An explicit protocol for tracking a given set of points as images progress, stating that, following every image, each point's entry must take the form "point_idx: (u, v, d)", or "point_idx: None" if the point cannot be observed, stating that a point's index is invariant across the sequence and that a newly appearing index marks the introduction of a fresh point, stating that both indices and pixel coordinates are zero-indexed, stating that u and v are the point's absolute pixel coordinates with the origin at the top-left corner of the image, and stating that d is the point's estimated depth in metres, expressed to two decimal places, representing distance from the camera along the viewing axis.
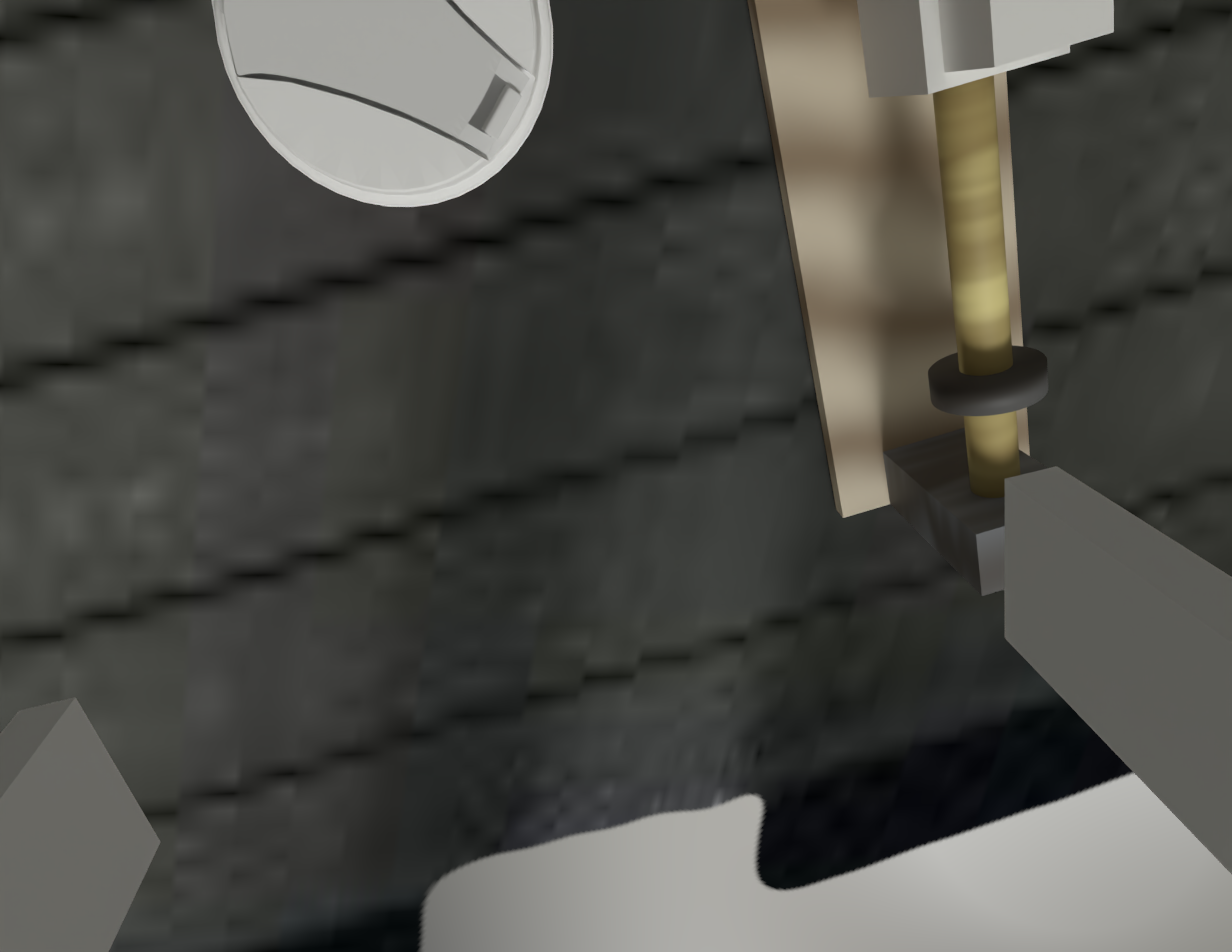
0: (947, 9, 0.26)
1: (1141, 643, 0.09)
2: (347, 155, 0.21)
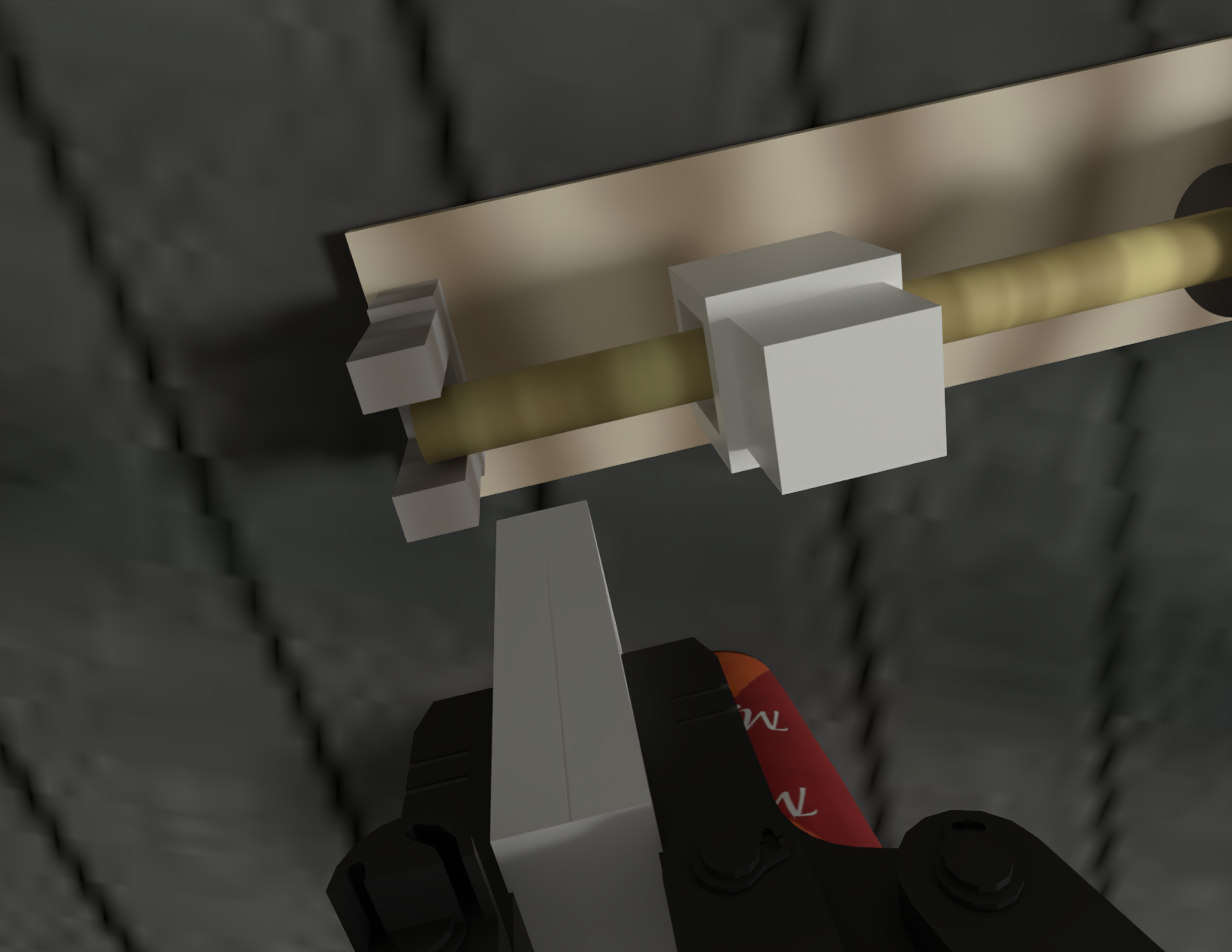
0: None
1: None
2: None
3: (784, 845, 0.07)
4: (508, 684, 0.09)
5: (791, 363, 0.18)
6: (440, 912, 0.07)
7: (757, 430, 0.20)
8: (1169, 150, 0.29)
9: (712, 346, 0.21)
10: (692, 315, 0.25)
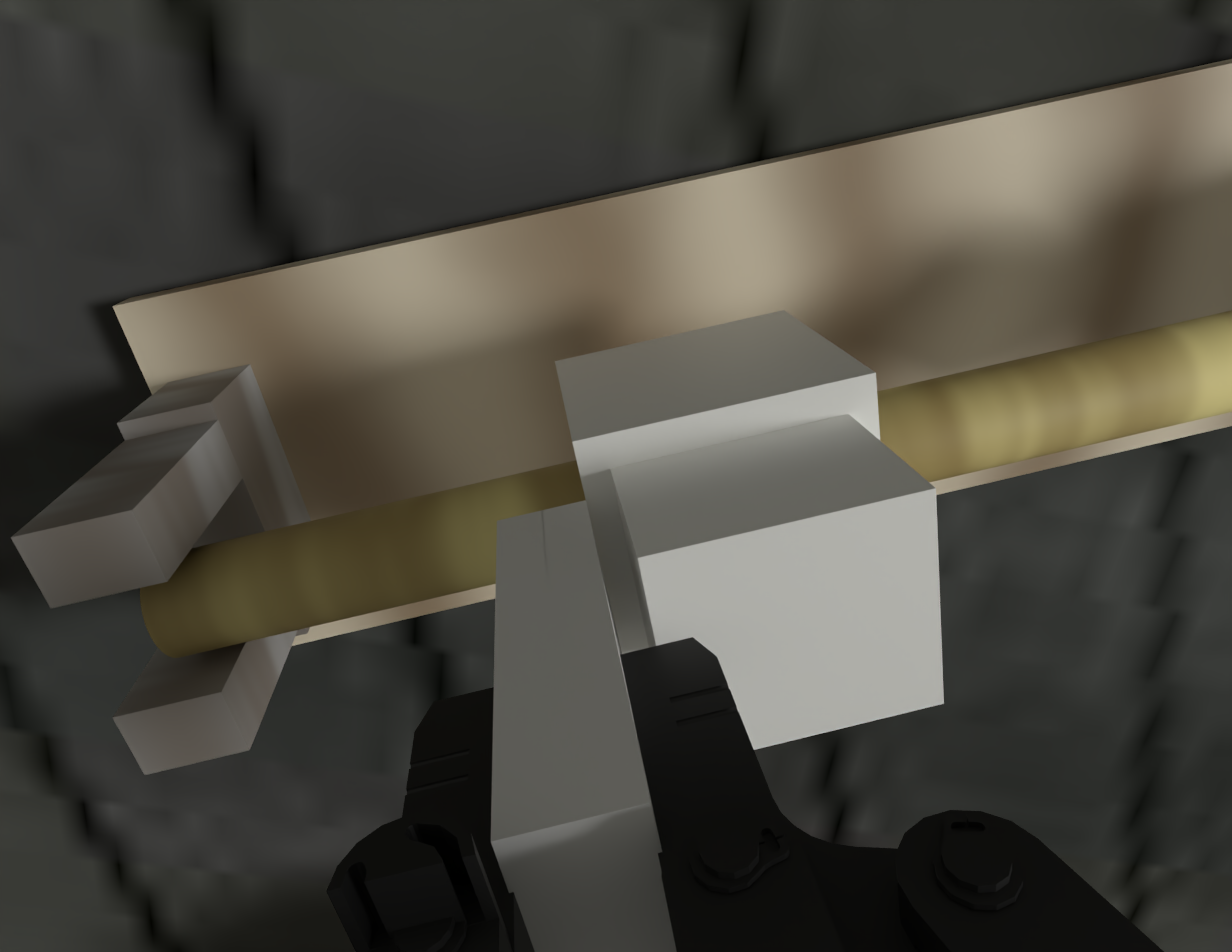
0: None
1: None
2: None
3: (784, 845, 0.07)
4: (508, 684, 0.09)
5: (687, 580, 0.11)
6: (440, 911, 0.07)
7: None
8: None
9: (588, 509, 0.14)
10: None
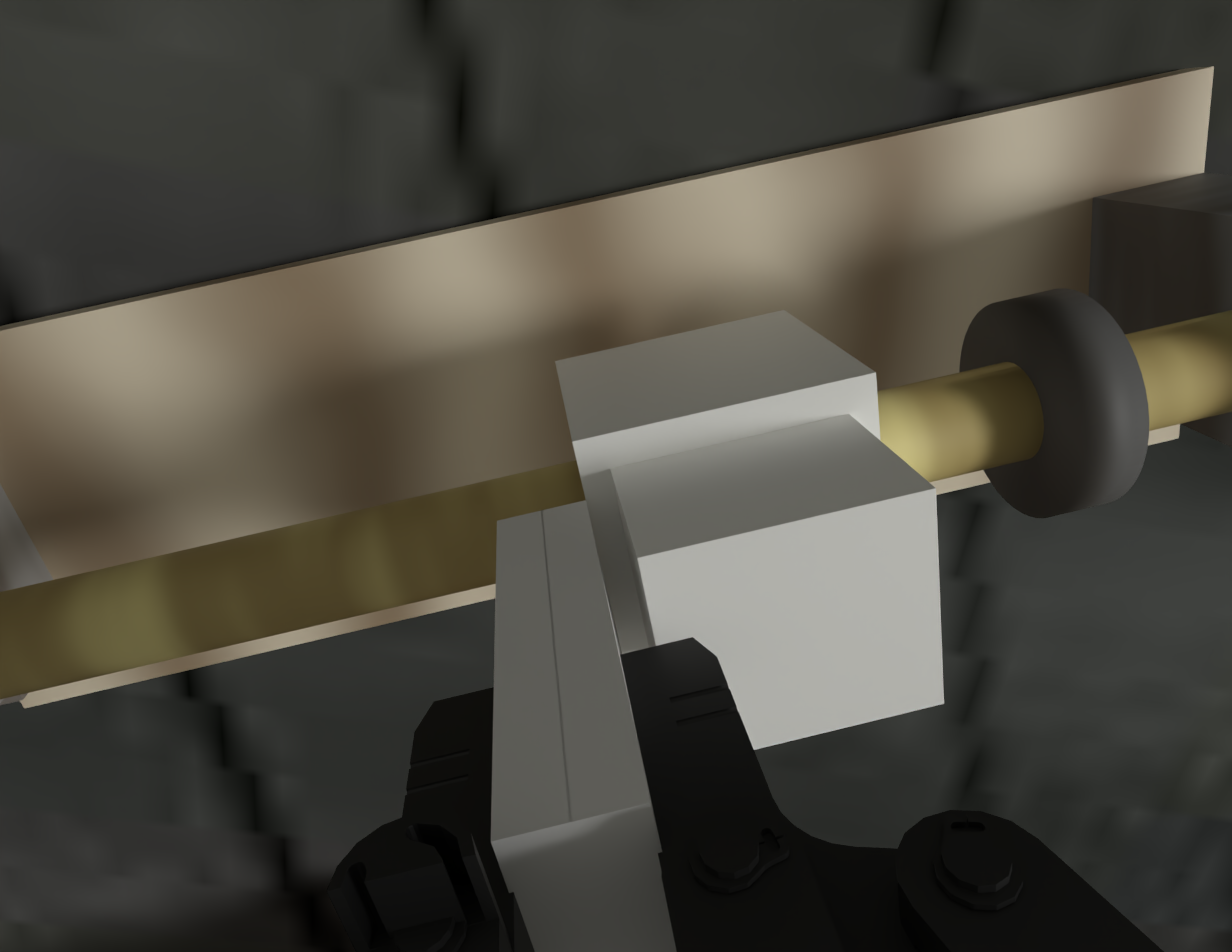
0: None
1: None
2: None
3: (783, 845, 0.07)
4: (508, 684, 0.09)
5: (687, 580, 0.11)
6: (440, 911, 0.07)
7: None
8: (987, 247, 0.21)
9: (588, 509, 0.14)
10: None
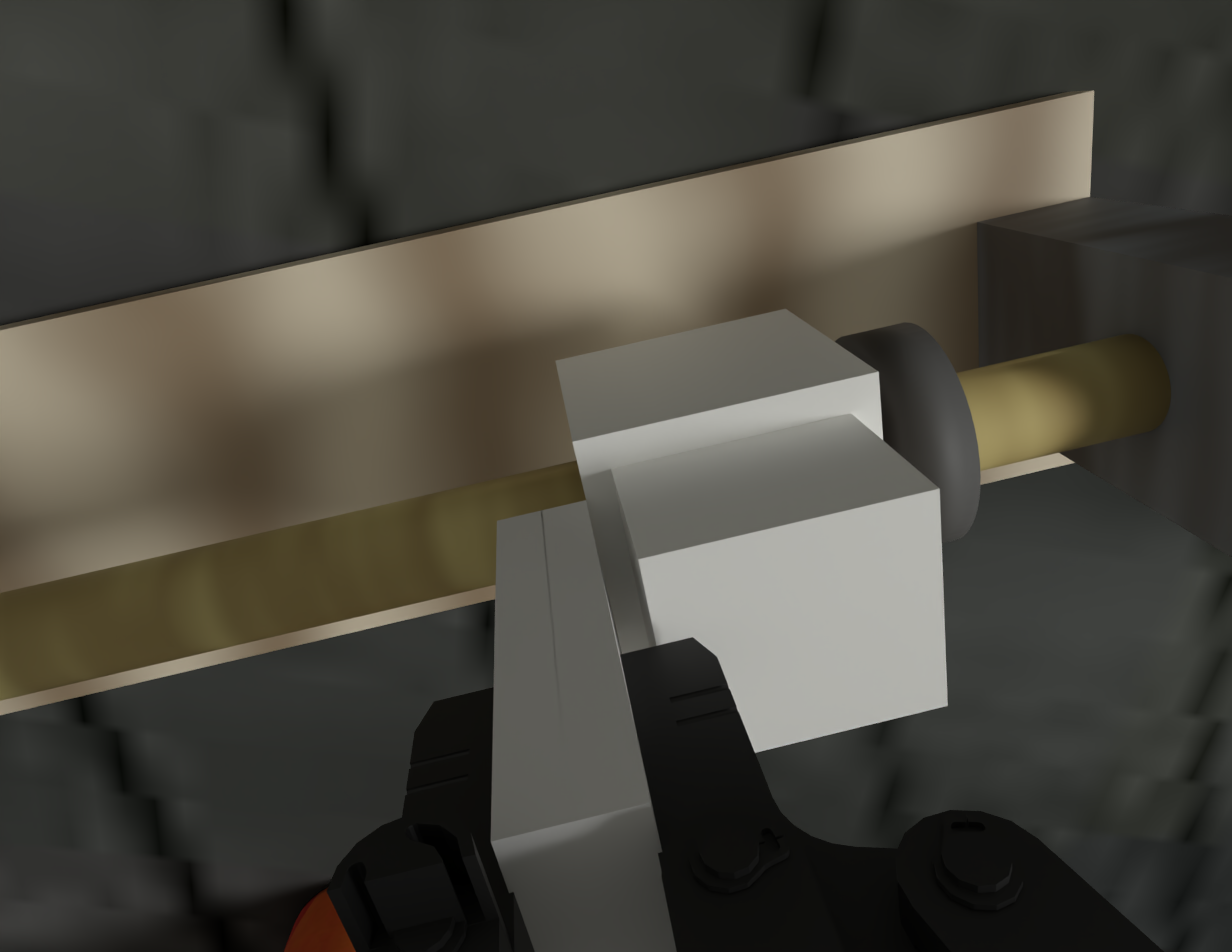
0: None
1: None
2: None
3: (783, 845, 0.07)
4: (508, 684, 0.09)
5: (688, 582, 0.11)
6: (440, 912, 0.07)
7: None
8: (870, 272, 0.21)
9: (589, 510, 0.14)
10: None
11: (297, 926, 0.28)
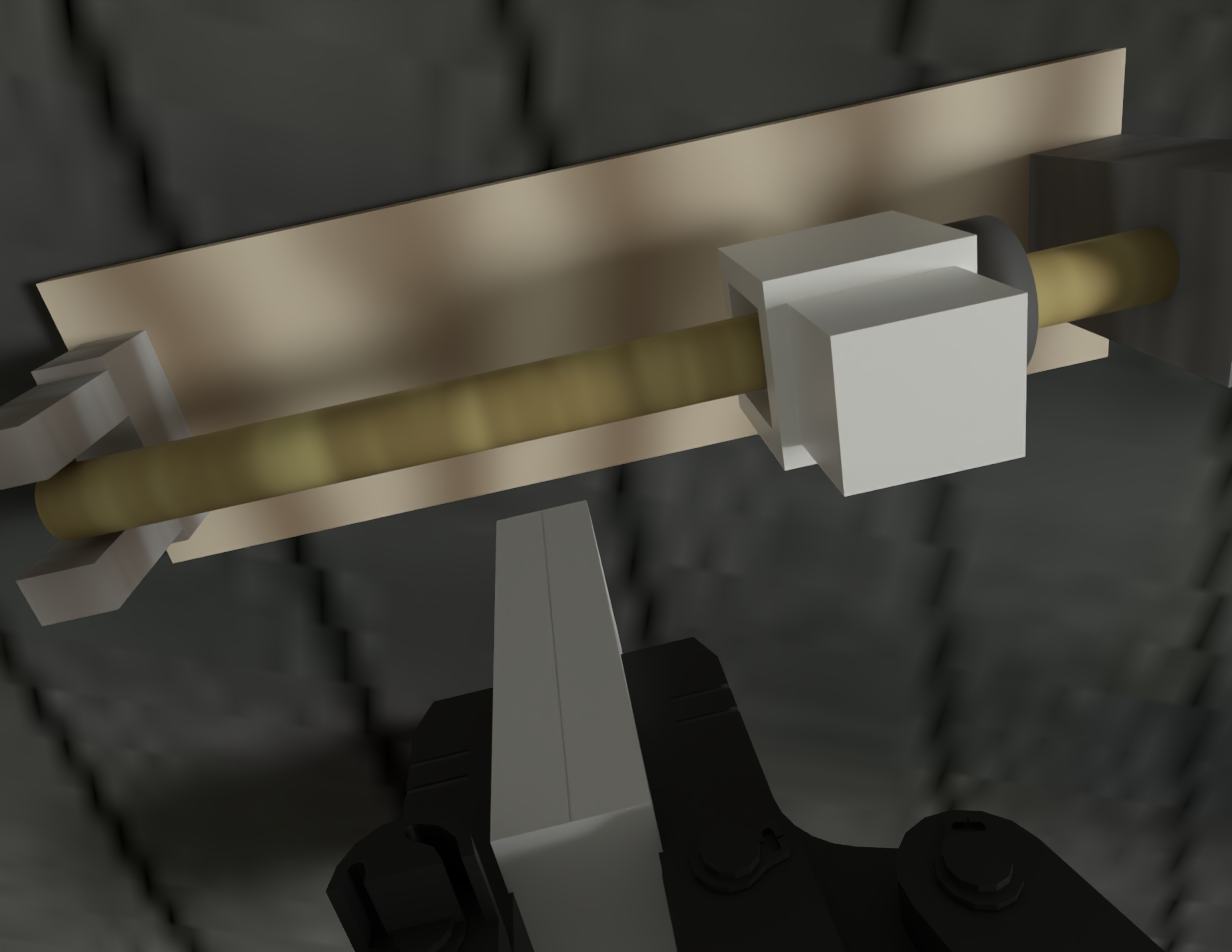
0: None
1: None
2: None
3: (784, 845, 0.07)
4: (508, 684, 0.09)
5: (860, 354, 0.17)
6: (439, 912, 0.07)
7: (816, 426, 0.19)
8: (943, 194, 0.27)
9: (768, 334, 0.19)
10: (742, 300, 0.23)
11: None
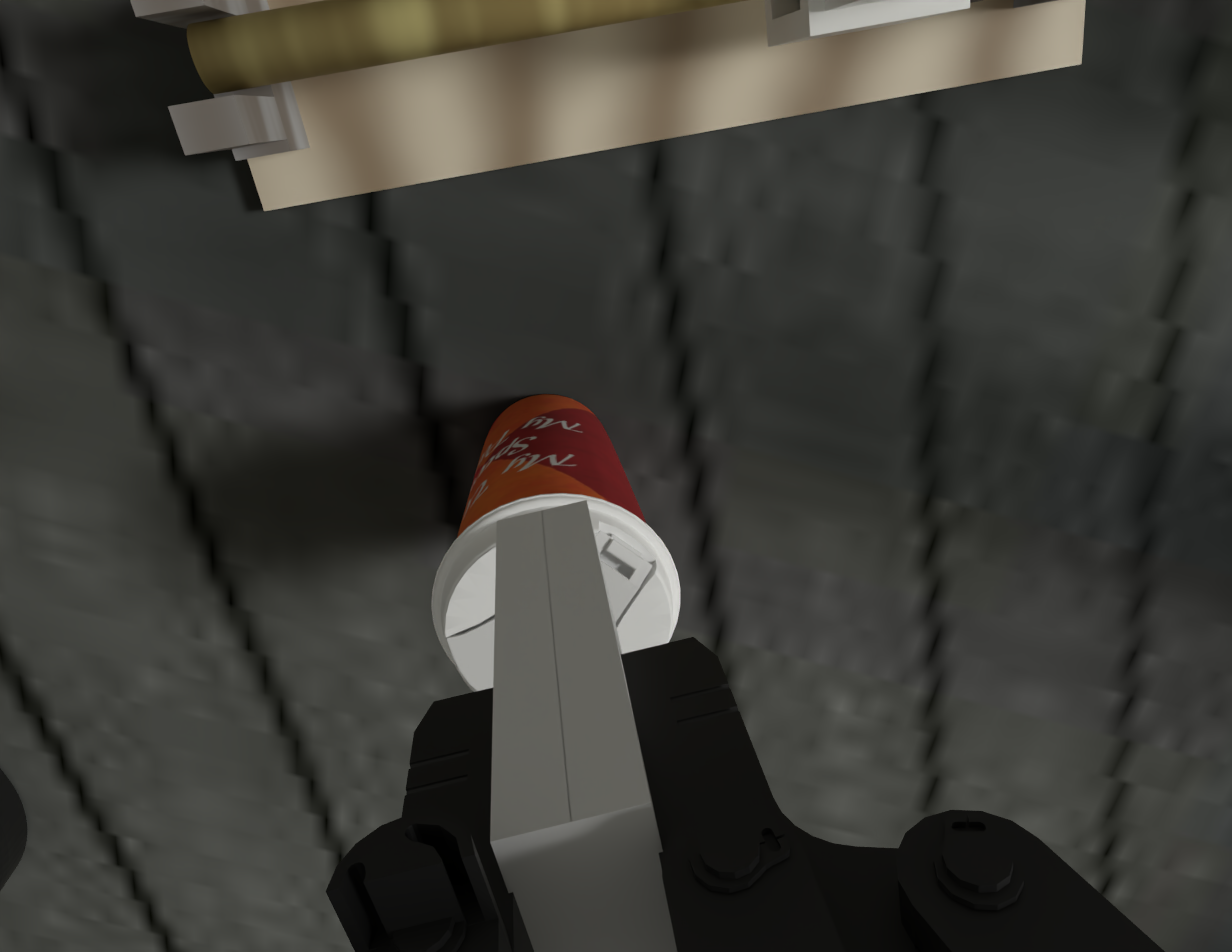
0: None
1: None
2: None
3: (784, 845, 0.07)
4: (508, 684, 0.09)
5: None
6: (439, 912, 0.07)
7: None
8: None
9: None
10: None
11: (496, 420, 0.38)
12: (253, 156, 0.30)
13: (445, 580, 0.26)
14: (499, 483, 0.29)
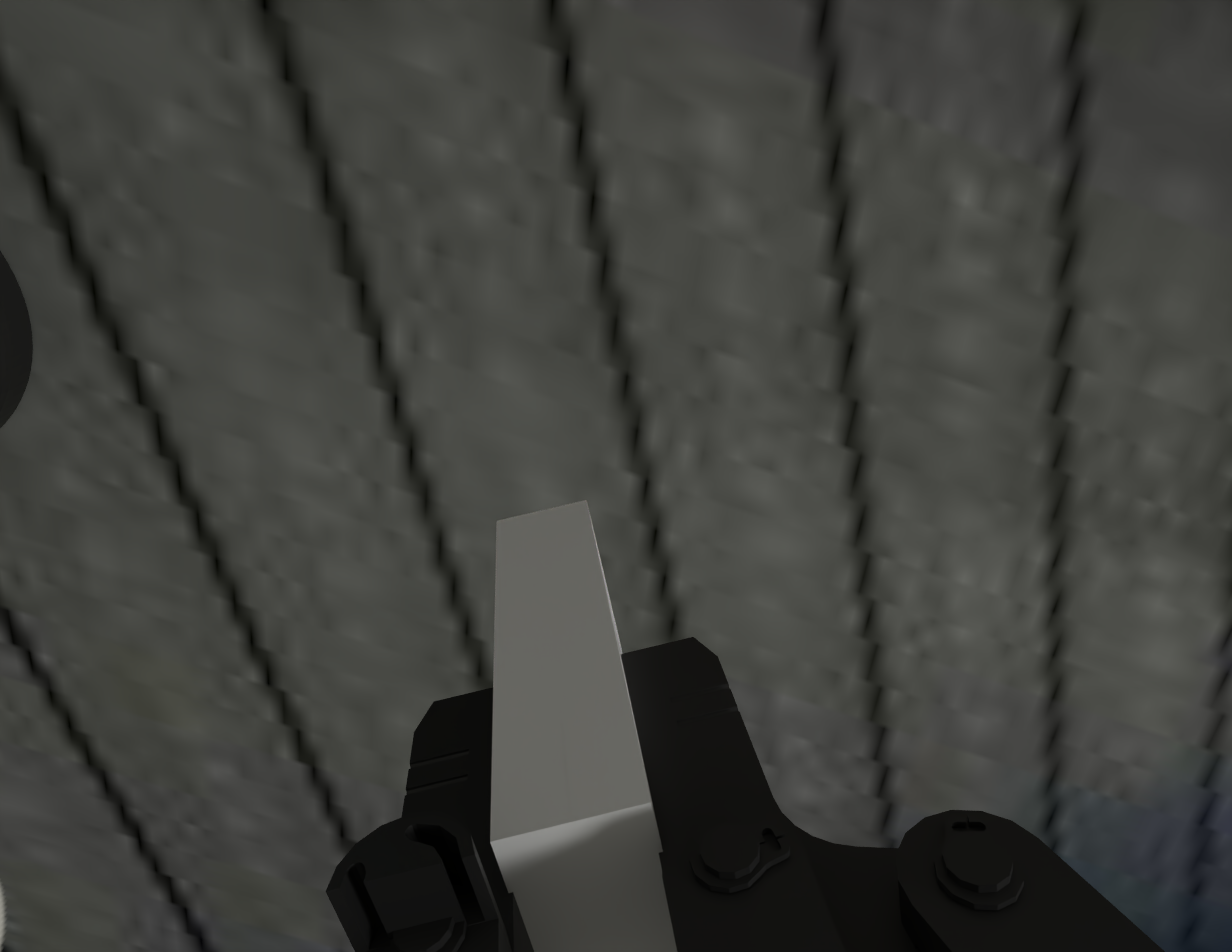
0: None
1: None
2: None
3: (784, 845, 0.07)
4: (508, 684, 0.09)
5: None
6: (439, 912, 0.07)
7: None
8: None
9: None
10: None
11: None
12: None
13: None
14: None
